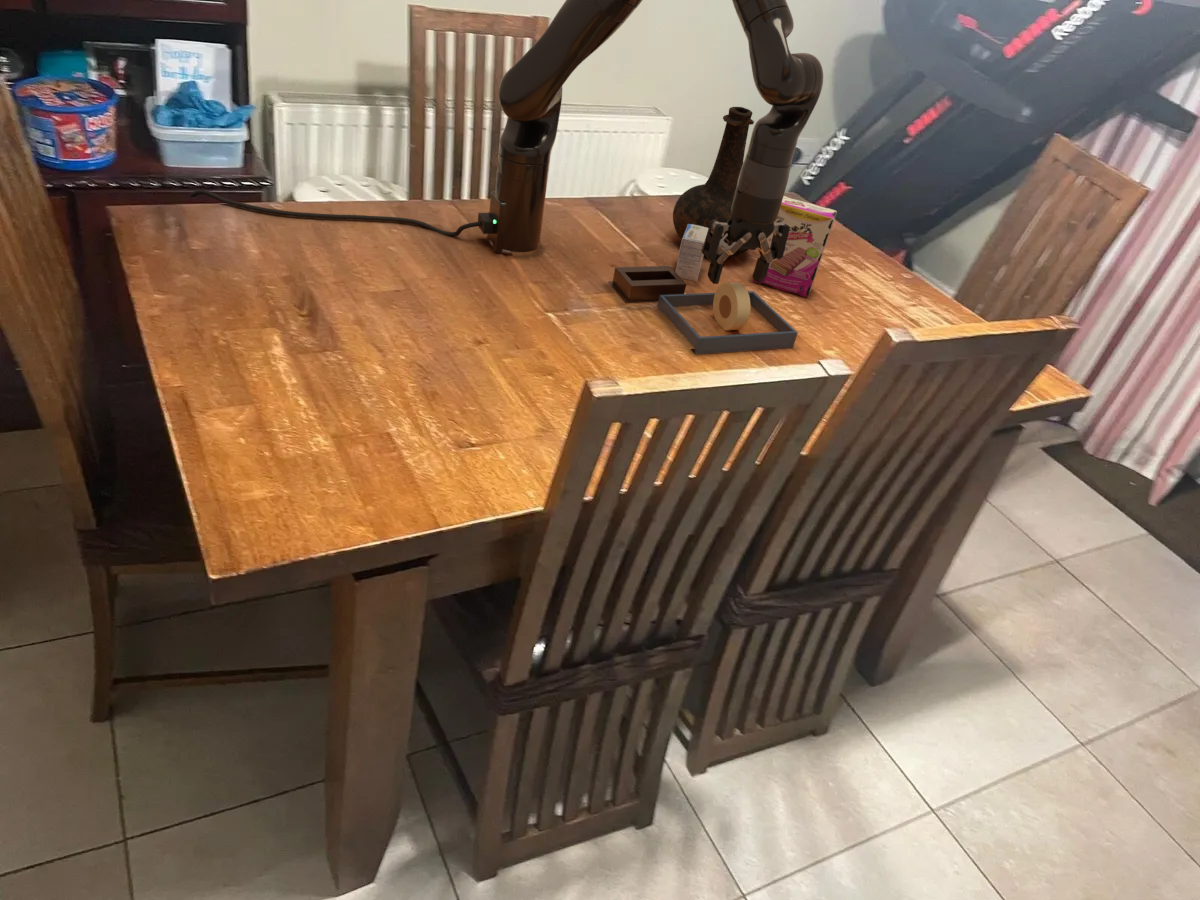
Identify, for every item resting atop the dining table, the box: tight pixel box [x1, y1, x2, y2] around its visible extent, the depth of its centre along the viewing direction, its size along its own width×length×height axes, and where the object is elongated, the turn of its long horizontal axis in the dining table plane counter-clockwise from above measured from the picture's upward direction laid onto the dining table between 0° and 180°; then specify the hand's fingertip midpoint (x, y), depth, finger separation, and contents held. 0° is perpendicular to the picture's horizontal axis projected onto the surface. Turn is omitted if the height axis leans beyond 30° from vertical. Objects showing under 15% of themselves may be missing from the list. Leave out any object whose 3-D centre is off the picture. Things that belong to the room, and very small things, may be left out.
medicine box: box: [674, 224, 709, 282], centre depth 173 cm, size 8×4×9 cm, turn 168°
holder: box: [607, 265, 687, 304], centre depth 164 cm, size 8×12×4 cm
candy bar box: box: [752, 195, 838, 298], centre depth 173 cm, size 11×5×16 cm, turn 71°
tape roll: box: [712, 281, 752, 331], centre depth 156 cm, size 2×8×8 cm, turn 22°
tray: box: [657, 290, 799, 356], centre depth 158 cm, size 19×15×3 cm
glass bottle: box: [672, 106, 755, 259], centre depth 179 cm, size 18×18×28 cm
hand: (735, 281), depth 154 cm, fingers open, 8 cm apart
